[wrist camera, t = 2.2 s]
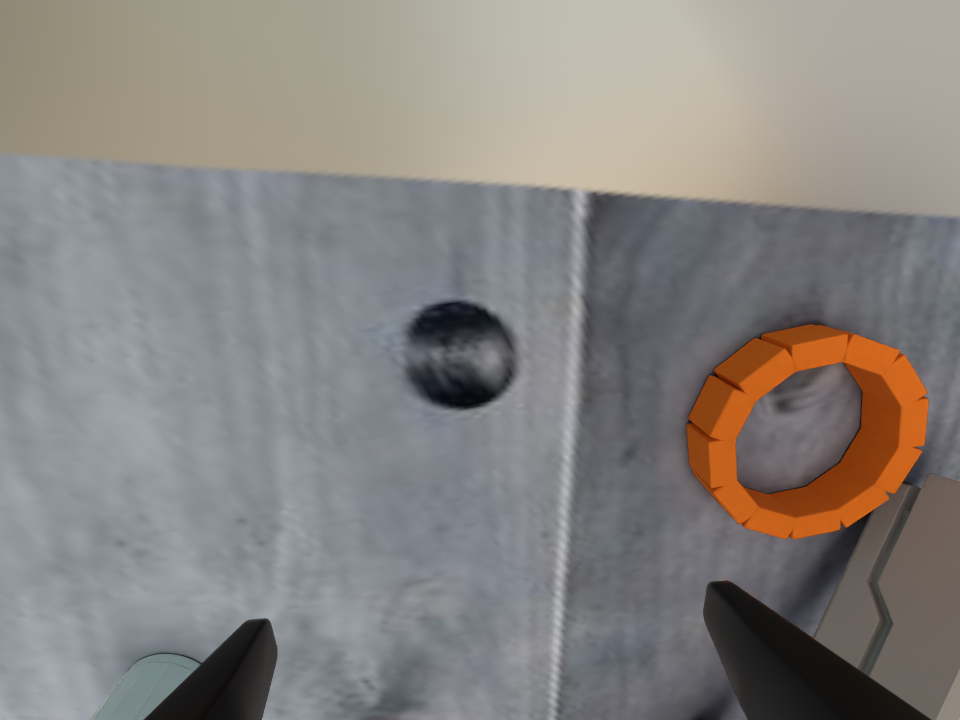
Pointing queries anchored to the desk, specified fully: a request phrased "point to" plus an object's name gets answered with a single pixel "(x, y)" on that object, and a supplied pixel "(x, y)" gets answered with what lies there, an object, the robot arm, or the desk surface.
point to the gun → (904, 598)
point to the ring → (865, 466)
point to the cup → (145, 687)
